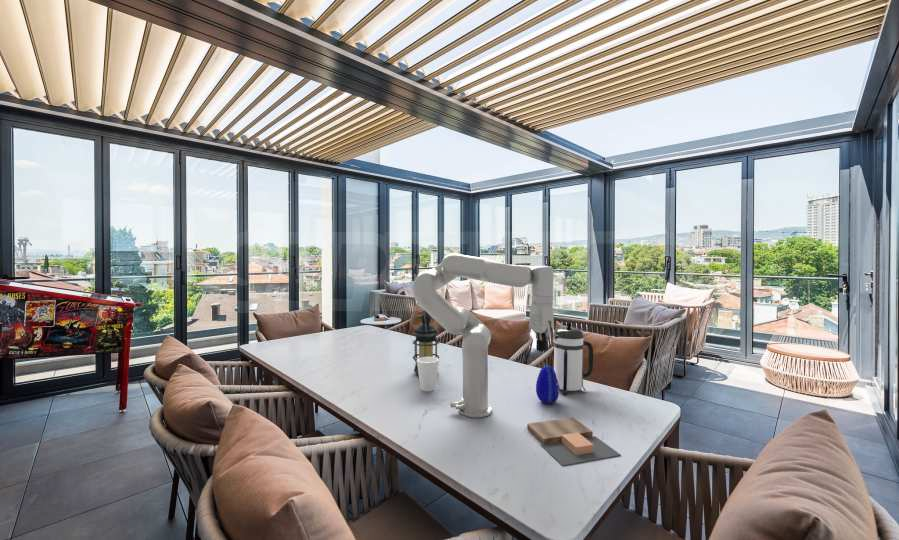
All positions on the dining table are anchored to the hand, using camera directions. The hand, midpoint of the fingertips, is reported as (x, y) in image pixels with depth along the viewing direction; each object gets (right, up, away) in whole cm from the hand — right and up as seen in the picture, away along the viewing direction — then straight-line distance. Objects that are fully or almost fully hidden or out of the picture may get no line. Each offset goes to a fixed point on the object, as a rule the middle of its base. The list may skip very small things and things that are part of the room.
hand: (541, 350), depth 140 cm
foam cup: (-43, -24, +30) cm, 58 cm away
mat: (+7, -26, -22) cm, 35 cm away
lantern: (-45, -22, +52) cm, 72 cm away
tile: (+6, -26, -20) cm, 33 cm away
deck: (+4, -26, -11) cm, 28 cm away
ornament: (+6, -25, +16) cm, 30 cm away
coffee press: (+20, -24, +30) cm, 43 cm away
